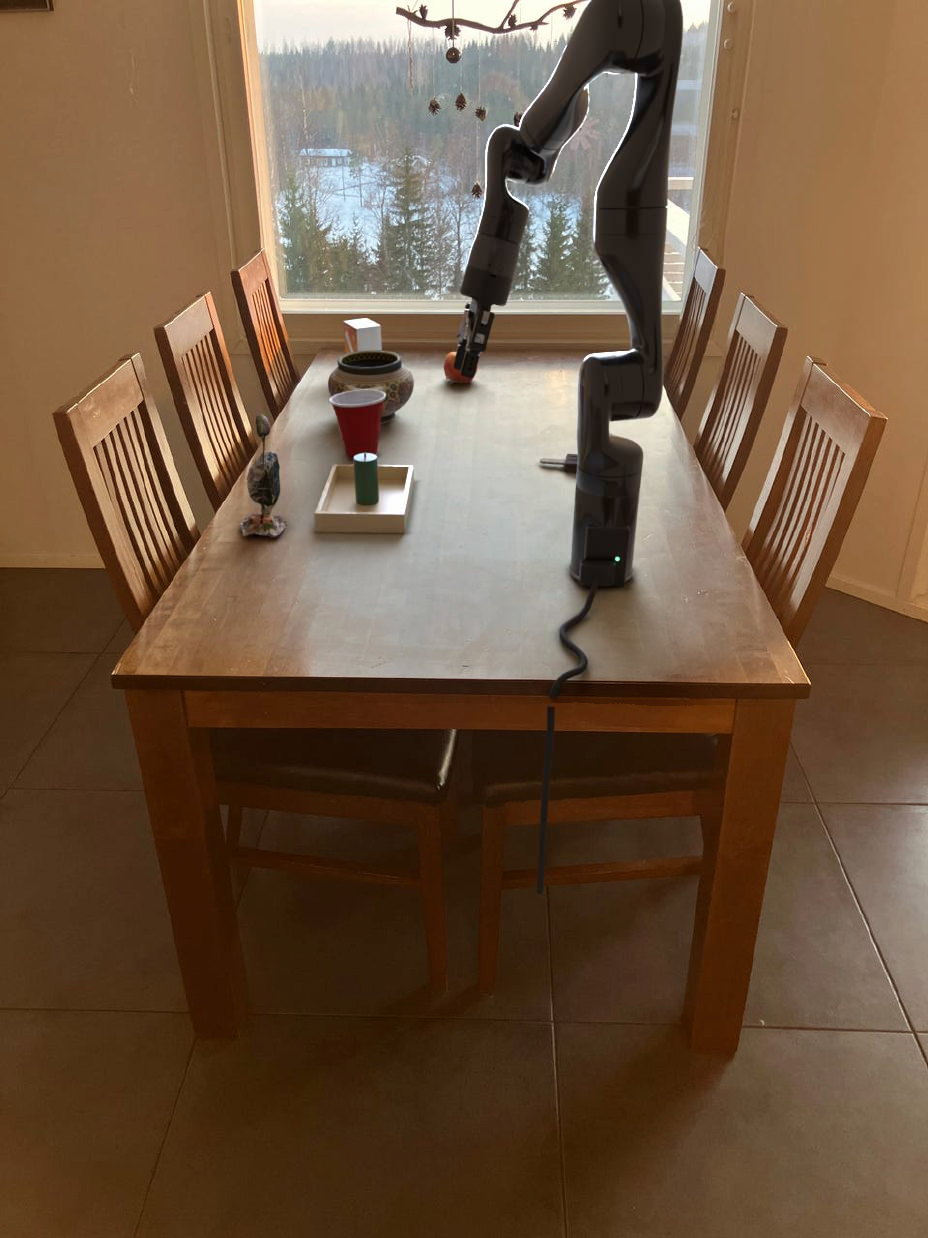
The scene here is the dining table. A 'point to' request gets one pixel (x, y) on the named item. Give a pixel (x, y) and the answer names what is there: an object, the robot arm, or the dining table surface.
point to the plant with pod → (264, 489)
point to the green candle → (366, 479)
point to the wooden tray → (348, 516)
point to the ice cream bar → (564, 462)
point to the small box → (362, 335)
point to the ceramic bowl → (374, 378)
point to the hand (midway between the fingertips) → (462, 373)
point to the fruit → (454, 370)
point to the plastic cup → (359, 419)
